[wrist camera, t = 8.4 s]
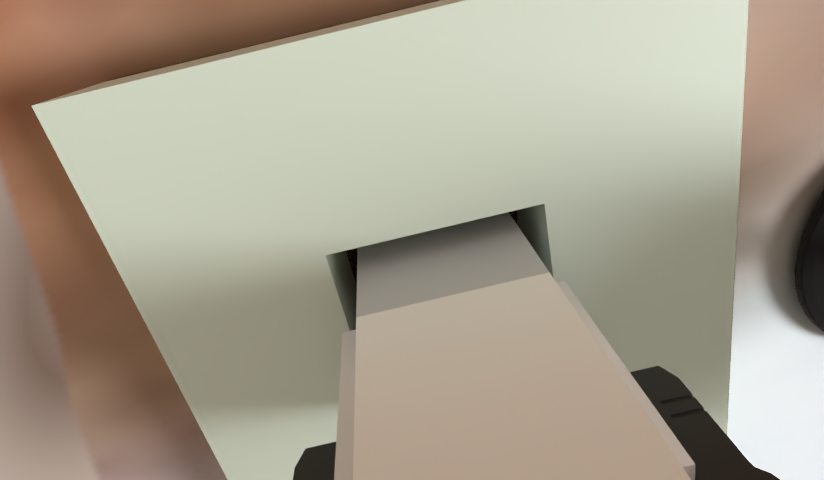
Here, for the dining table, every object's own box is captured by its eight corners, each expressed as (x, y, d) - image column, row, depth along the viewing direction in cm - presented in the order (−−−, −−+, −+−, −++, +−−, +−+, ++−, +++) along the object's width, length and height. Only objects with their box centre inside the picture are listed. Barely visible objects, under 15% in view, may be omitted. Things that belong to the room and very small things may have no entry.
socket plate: (670, 389, 24) (725, 459, 20) (284, 478, 24) (271, 562, 21) (665, -55, 16) (751, -70, 13) (103, 82, 17) (31, 105, 13)
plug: (521, 323, 20) (942, 1187, 5) (391, 353, 20) (468, 1285, 6) (502, 202, 18) (1104, 1088, 3) (357, 236, 18) (337, 1247, 3)
